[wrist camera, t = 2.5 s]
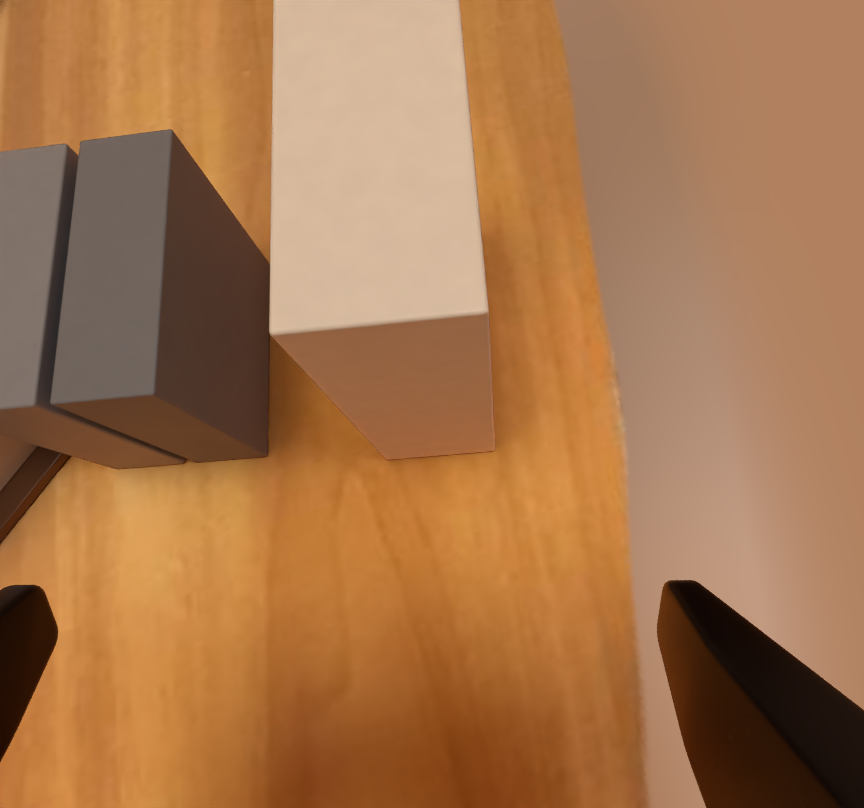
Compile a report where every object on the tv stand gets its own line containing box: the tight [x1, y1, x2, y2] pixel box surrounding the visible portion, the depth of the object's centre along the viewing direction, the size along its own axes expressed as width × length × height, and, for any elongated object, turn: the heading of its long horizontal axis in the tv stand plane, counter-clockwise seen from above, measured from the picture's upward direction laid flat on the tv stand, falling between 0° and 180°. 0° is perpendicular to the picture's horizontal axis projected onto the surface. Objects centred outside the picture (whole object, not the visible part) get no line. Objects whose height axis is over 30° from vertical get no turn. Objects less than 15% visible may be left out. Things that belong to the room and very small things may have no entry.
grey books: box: [0, 129, 270, 469], centre depth 21 cm, size 6×8×8 cm
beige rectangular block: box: [269, 0, 495, 460], centre depth 18 cm, size 4×9×12 cm, turn 3°
